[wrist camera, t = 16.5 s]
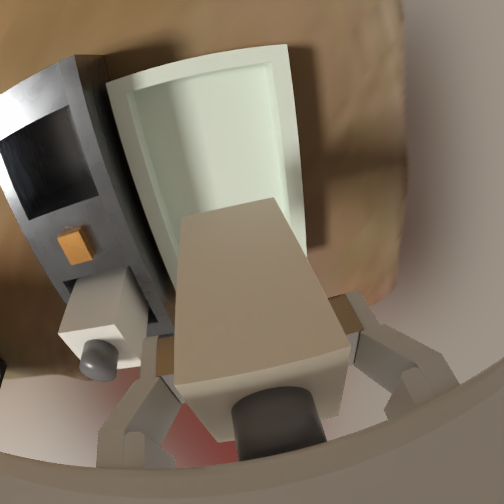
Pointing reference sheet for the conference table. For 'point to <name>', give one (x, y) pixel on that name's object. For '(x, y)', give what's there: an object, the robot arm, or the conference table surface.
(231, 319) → the twin
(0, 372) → the graphics card box
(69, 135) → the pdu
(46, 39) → the conference table surface
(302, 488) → the robot arm
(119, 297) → the plug
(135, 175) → the tray
